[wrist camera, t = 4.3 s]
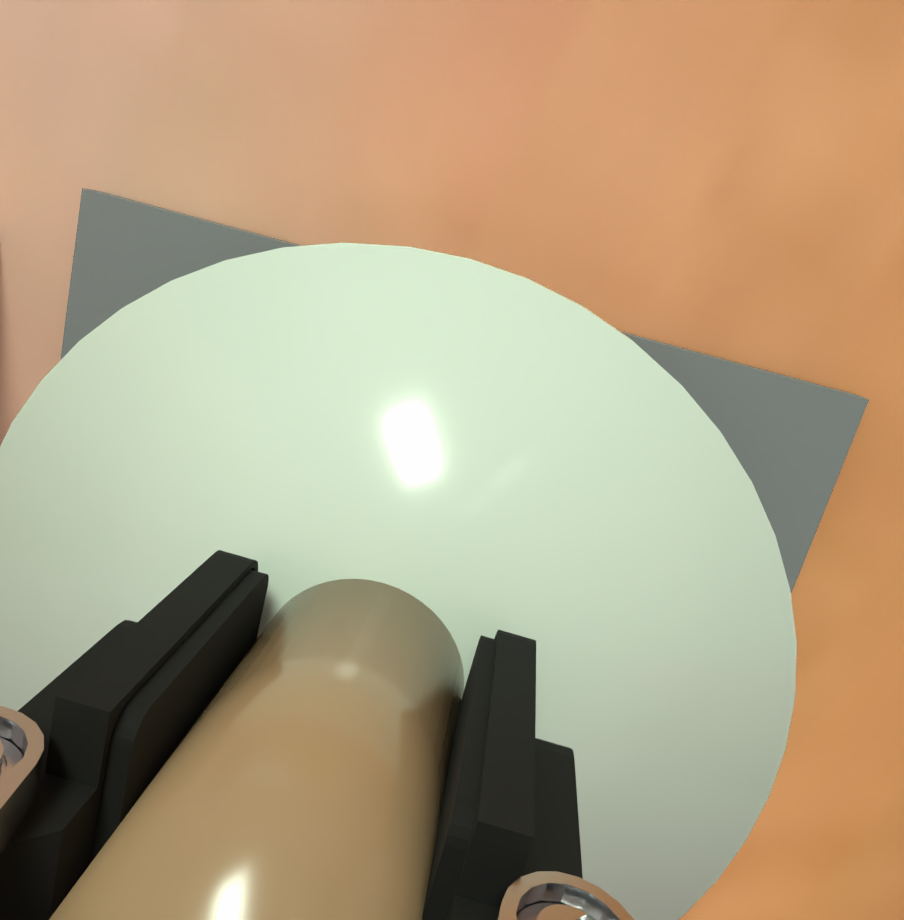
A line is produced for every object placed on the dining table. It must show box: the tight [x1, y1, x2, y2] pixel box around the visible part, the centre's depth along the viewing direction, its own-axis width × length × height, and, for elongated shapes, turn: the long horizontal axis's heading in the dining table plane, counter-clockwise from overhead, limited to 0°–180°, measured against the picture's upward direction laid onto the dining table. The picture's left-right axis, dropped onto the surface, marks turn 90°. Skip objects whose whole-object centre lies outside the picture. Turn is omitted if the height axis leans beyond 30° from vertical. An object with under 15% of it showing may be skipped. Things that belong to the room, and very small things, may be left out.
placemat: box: [61, 188, 869, 593], centre depth 13 cm, size 12×11×1 cm
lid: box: [0, 243, 797, 920], centre depth 10 cm, size 12×12×8 cm
